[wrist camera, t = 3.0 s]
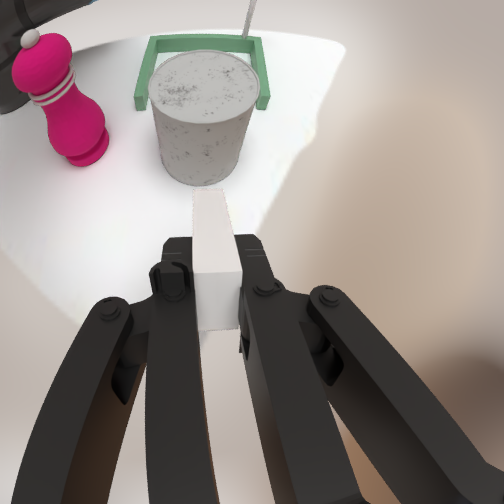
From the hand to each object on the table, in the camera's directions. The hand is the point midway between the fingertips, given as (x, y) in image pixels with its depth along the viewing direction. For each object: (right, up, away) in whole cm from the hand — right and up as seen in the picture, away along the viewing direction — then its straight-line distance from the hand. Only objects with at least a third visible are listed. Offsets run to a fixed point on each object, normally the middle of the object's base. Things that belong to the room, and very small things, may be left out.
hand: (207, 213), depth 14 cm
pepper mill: (-19, +12, +15) cm, 27 cm away
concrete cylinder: (-4, +10, +18) cm, 21 cm away
